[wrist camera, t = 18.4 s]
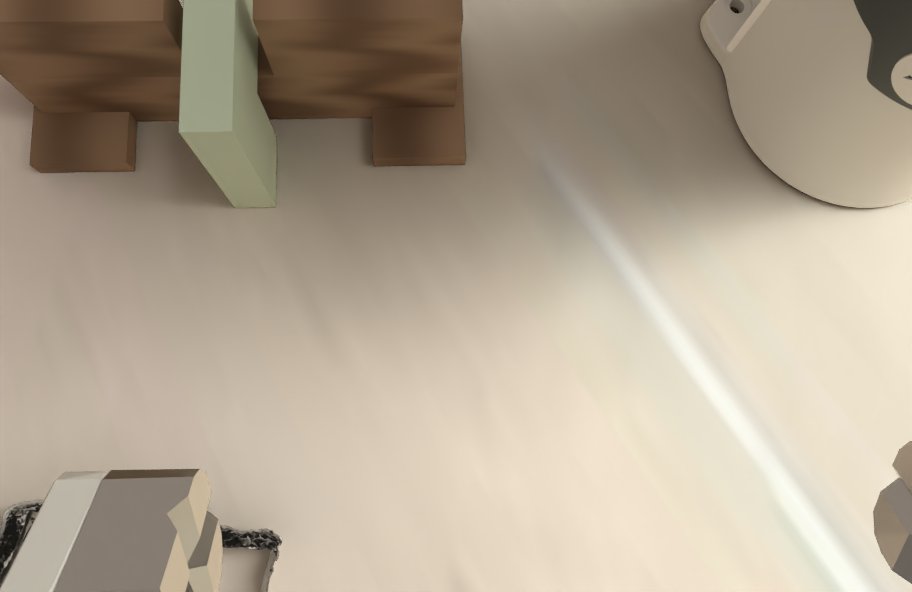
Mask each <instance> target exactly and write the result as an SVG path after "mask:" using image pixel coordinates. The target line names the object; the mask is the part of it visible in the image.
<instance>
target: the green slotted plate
mask: <svg viewBox="0 0 912 592" xmlns="http://www.w3.org/2000/svg"><path fill="white" fill-rule="evenodd" d="M257 80H258V33H257V30H256V28H255V25H254V22H253V0H184V2H183V29H182V56H181V83H180V109H179V133H180V135H181V136H182V137H183V139H184V140H185V141H186V143H187V144H188V145H189V147H190V148H191V150H192V151H193V152H194V154H195V155H196V156H197V158H198V159H199V160H200V162H201V163H202V164H203V166H204V167H205V168H206V170H207V171H208V172H209V174H210V175H211V176H212V178H213V179H214V180H215V182H216V183H217V184H218V186H219V187H220V188H221V190H222V191H223V192H224V194H225V195H226V197H227V198H228V199H229V201H230V202H231V203H232V205H233V206H234V207H235V208H254V207H276V153H277V136H276V134H275V132H274V129H273V127H272V125H271V123H270V120H269V118H268V116H267V114H266V112H265V109H264V107H263V105H262V103H261V100H260V98H259V96H258V94H257Z"/></svg>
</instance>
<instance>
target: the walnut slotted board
mask: <svg viewBox="0 0 912 592" xmlns="http://www.w3.org/2000/svg"><path fill="white" fill-rule="evenodd" d="M253 22H254V25H255V28H256V30H257V33H258V80H257V94H258V96H259V98H260V100H261V103H262V105H263V107H264V109H265V112H266V114H267V116H268V118H269V119H307V118H369V117H372V131H373V162H374V166H417V165H465V158H466V151H465V127H464V104H463V80H462V56H461V33H462V22H463V9H462V0H253ZM182 29H183V8H182V6H181V4H180V2H179V0H0V74H1V75H2V76H3V77H4V78H5V79H6V80H7V81H9V82H10V83H11V84H12V85H13V86H14V87H15V88H16V89H17V90H18V91H20V92H21V93H22V94H23V95H24V96H25V97H26V98H27V99H28V100H29V101H30V102H32V103H33V104H34V114H33V127H32V139H31V152H30V165H31V166H32V167H33V168H35V169H36V170H37V171H39V172H40V173H53V172H105V171H135V153H136V132H137V121H179V109H180V83H181V56H182Z"/></svg>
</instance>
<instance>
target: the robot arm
mask: <svg viewBox="0 0 912 592" xmlns="http://www.w3.org/2000/svg"><path fill="white" fill-rule="evenodd" d="M730 7H734V8H736V9H737V10H738V11H739V13H734V12H733V11H732V10H731V9H730ZM700 29H701V33H702V36H703V38H704V40H705V42H706V43H707V45H708V47H709V49H710V50H711V52H712V53H713V55H714V56H715V58H716V59H717V61H718V62H719V63H720V65H721V66H722V69H723V72H724V75H725V79H726V84H727V89H728V95H729V100H730V104H731V108H732V111H733V114H734V117H735V120H736V122H737V124H738V127H739V129H740V131H741V133H742V134H743V136H744V138H745V139H746V141H747V143H748V144H749V146H750V147H751V148H752V150H753V151H754V152H755V154H756V155H757V156H758V157H759V158H760V160H761V161H762V162H763V163H764V164H765V165H766V166H767V167H768V168H769V169H770V170H771V171H772V172H774V173H775V174H776V175H777V176H778V177H780V178H781V179H782V180H784V181H785V182H787V183H788V184H790V185H791V186H793V187H794V188H796V189H798V190H800V191H802V192H803V193H806V194H808V195H810V196H812V197H814V198H817V199H820V200H822V201H826V202H829V203H833V204H837V205H841V206H847V207H856V208H876V207H885V206H890V205H895V204H899V203H902V202H905V201H908V200H911V199H912V0H715V1H714V3H713V4H712V5H711V6H710V7H709V9H708V10H707V11H706V12H705V14H704V15H703V17H702V19H701V22H700ZM893 467H894V469H895V471H896V473H897V475H898V477H899V478H898V479H897V480H895V481H894V482H893V483H891V484H890V485H889V486H887V487H886V488H885V489H883V490H882V491H881V492H880V495H879V497H878V500H877V503H876V506H875V508H874V511H873V516H874V532H875V537H876V539H877V542H878V545H879V548H880V551H881V553H882V555H883V556H884V558H885V560H886V561H887V563H888V565H889V566H890V568H891V569H892V571H894V572H895V573H897V574H898V575H900V576H901V577H902V578H904V579H905V580H907V581H908V582H910V583H911V584H912V441H910V442H908V443H907V444H906V445H904V446H903V447H902V448H901V449H899V451H898V454H897V456H896V458H895V460H894V462H893ZM211 493H212V491H211V488H210V484H209V481H208V477H207V474H206V471H203V470H201V469H164V470H111V471H84V472H65V473H64V474H62V475H61V476H60V477H59V478H58V479H57V480H56V481H55V482H54V483H53V485H52V487H51V489H50V491H49V492H48V494H47V496H46V498H45V500H44V502H43V504H42V506H41V508H40V510H39V512H38V514H37V516H36V518H35V520H34V522H33V524H32V526H31V528H30V530H29V532H28V534H27V536H26V538H25V540H24V542H23V544H22V546H21V548H20V550H19V552H18V554H17V556H16V558H15V560H14V562H13V564H12V566H11V568H10V570H9V572H8V574H7V576H6V578H5V580H4V581H3V583H2V585H1V587H0V592H218V591H219V586H220V581H221V572H222V559H223V547H222V534H221V530H220V525H219V521H218V519H217V518H216V517H215V516H213V515H212V514H211V513H210V512H208V511H207V508H208V505H209V501H210V497H211Z"/></svg>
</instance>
